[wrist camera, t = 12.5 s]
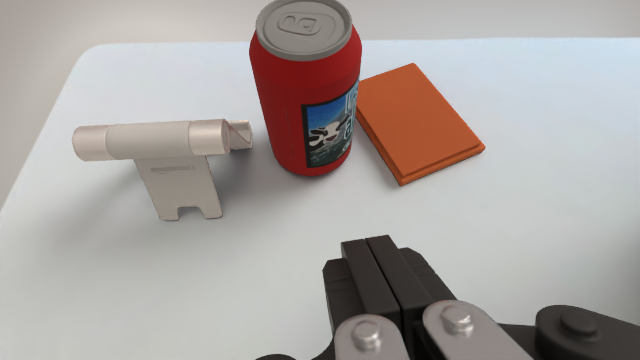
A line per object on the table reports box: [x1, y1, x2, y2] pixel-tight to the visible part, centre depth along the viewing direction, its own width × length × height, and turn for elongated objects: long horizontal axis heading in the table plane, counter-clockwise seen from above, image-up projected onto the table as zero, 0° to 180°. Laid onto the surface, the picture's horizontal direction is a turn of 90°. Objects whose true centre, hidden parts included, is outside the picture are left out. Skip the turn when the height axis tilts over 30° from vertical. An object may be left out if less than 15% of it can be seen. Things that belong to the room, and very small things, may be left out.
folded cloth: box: [355, 63, 485, 186], centre depth 30 cm, size 8×11×1 cm
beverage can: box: [249, 0, 362, 176], centre depth 24 cm, size 7×7×12 cm
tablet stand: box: [72, 119, 253, 221], centre depth 24 cm, size 9×8×8 cm
